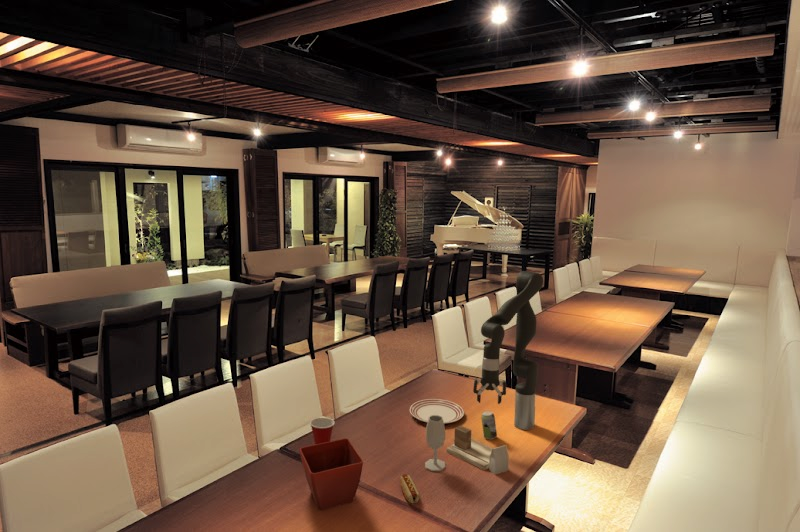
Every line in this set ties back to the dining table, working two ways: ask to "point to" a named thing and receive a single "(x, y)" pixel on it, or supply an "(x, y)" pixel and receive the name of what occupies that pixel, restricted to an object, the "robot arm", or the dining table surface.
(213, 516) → the dining table surface
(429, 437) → the wineglass
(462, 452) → the board
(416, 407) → the dinner plate
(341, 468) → the plant pot
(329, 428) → the plastic cup
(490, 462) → the tea bag
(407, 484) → the food
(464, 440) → the block
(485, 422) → the beverage can
